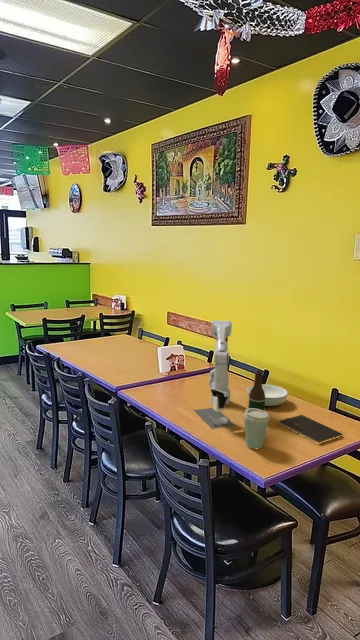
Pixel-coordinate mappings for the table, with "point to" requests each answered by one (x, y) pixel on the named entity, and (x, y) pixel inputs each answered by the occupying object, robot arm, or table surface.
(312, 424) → the hardcover book
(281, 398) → the serving bowl
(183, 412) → the table surface
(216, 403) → the cream square bottle
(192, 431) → the table surface
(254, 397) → the beer bottle
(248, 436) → the disposable coffee cup
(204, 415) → the mat
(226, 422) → the end holder
